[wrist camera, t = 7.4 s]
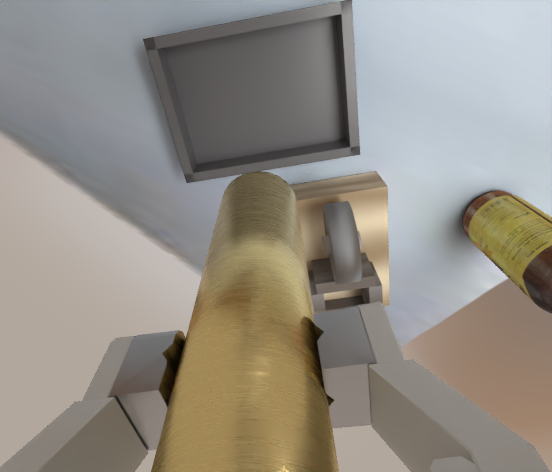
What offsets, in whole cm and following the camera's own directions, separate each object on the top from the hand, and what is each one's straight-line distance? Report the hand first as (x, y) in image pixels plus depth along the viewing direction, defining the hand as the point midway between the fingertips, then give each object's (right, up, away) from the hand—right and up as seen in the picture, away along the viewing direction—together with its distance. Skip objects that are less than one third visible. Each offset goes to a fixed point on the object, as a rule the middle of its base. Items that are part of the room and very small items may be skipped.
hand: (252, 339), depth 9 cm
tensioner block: (+7, +2, +32) cm, 33 cm away
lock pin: (0, +4, +6) cm, 7 cm away
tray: (-1, +15, +24) cm, 29 cm away
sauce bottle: (+24, +5, +31) cm, 39 cm away
